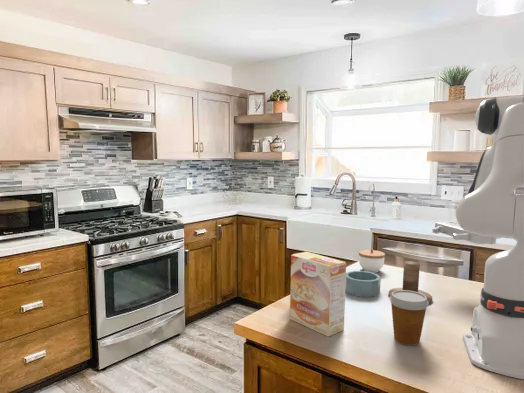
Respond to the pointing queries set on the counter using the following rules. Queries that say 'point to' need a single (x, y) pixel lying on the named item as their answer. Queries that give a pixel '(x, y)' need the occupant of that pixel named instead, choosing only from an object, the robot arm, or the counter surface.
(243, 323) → the counter surface
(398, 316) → the disposable coffee cup
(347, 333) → the counter surface
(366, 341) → the counter surface
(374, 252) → the lidded jar
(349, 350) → the counter surface
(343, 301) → the coffeecake box
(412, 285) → the lid
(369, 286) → the bowl
